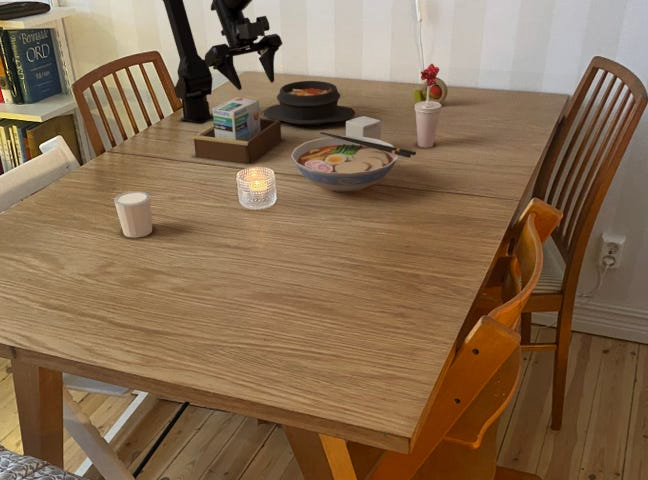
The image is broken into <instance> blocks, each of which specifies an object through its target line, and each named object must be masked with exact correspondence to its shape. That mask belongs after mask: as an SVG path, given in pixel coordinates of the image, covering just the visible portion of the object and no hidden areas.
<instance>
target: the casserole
mask: <svg viewBox="0 0 648 480" xmlns="http://www.w3.org/2000/svg"><path fill="white" fill-rule="evenodd" d="M341 96H342V95H341V93H340V92H339V91H338V88H337V86H336V84H333V83H331V82H327V81H320V80H302V81H294V82H291V83H287V84H284V85H283V86H281V87H280V89H279V93H278V94H277V96H276V100H277V101H278V102H279V104H273V105H271V106H269V107H267V108H266V109H265V110H264V111H263V113H262V115H263V117H264V118H265V119H272V120H280V122H284V123H289V124H292V125H296V126H301V127H314V126H319V125H323V124H326V123H339V122H346V121H349V120H351V119H353V117H354V116H356V110H355V109H354V108H353V107H349V106H344V105H338V102H339V100H340V98H341Z"/></svg>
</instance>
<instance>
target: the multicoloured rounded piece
mask: <svg viewBox="0 0 648 480" xmlns="http://www.w3.org/2000/svg"><path fill="white" fill-rule="evenodd" d="M439 72H440V68H439V67H438V66H435V65H434V63H430V64H429V66H428V67H427V68H425V69H423V71H420V74H421V76H420V79H421V80H422V81H424V83H422V86H421V88H420V89H416V90H414V91H413V92H412V96H413V97H414V101H413V102H414V105H415V104H416V103H418V102H422V101H427V87H428V86H430V93H429V101H433V102H438V103H440V104H441V105H442V103H443V102H444V101H445V100H446V98H447V96H448V92H449V91H448V86H447V84H446V82H445V81H444V80H443V79H441V78H440V77H437V75H438V74H439Z"/></svg>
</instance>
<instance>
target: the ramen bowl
mask: <svg viewBox="0 0 648 480" xmlns="http://www.w3.org/2000/svg"><path fill="white" fill-rule="evenodd" d="M319 134H320V135H323V136H324V135H325V137H320V138H317V139H313V140H310V141H309V140H308V141H305V142H303V143H302V144H300V145H298V146H296V147H294V149H293V151H292V153H291V155H290V156H291V158H292V160H293V163H294V164H295V166H296V167H297V169H298V170H299V171H300V173H301V174H302V176H303V177H304V178H305V179H306V180H307V181H309V182H310V183H312V184H314V185H316V186H318V187H320V188H322V189H326V190H330V191H333V192H336V193H354V192H356V191H359V190H363V189H366V188H368V187H373V186H374V185H376V184H378V183H379V182H380V181H381V180H383V179H384V178H385V177H386V176H387V175H388V174H389V173H390V171H392V169H393V168H394V166H395V164H396V162H397V160H398V157H399V156H400V157H404V158H408V159H410V158H411V157H412V156H416V154H417V153H416V152H417V151H414V150H410V149H405V148H399V147H395V146H394V144H391V143H389V142H386V141H384V140H381V139H380V140H379V139H373V138H367V137H361V136H346V135H337V134H334V133H333V134H332V133H329V132H323V131H322V132H319Z"/></svg>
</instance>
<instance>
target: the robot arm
mask: <svg viewBox="0 0 648 480" xmlns="http://www.w3.org/2000/svg"><path fill="white" fill-rule="evenodd" d="M162 1H163V5H164V8H165V11H166V15H167V19H168V22H169V26H170V29H171V34H172V36H173V40H174V43H175V48H176V50H177V53H178V56H179V63H178V68H177V71H176V72H177V76H178V80H177V81H176V84H175V86H174V89H173V91H174V95H175V97H176V98H177V99H179V100H181V108H182V115H183V117H180V121H182V122H187V123H188V122H190V123H198V124H201V123H203V122H205V121H206V120H209V118H212V117H213V113H212V114H211V112H210V103H209V101H208V97H207V96H210V95H212V89H213V80H214V79H213V76H212V71H211V69H210V68H212V69H213V70H214V71H217V72H219V73H220V74H221V75H222V76H224V77H225V78H226V79H227V80H228V81H229V82H230V83H231V84H232V85H233V87H235V88H236V89H237V90H238V91H241V90H242V89H243V87H242V83H241V80H240V77H239V75H238V72H237V70H236V68H235V67H236V66H235V64H234V57H236V56H241V55H247V54H251V53H257V54H258V55H259V57H258V60H259V62H260V65H261V66H262V69H263V70H264V73H265V74H266V77H267V79H268V80H269V82H270V83H271V84H272V83H274V82H275V55H276V53H277V51H279V50H280V47H281V46H283V44H284V43H283V41H282V38H281V36H280V35H279V34H277V33H273V34H267V35H266V32H268V31H270V28H271V27H270V22H269V20H268V17H267V15H262V16H257V17H256V18H255V21H253V22H251V20H250V18H249V17H245V14H244V12H243V11H244V10H245V9H246V8H247V7H248V6H249V5H250V4H251V3H252V2H253V0H212V2H211V4H210V11H211V12H213V11H215V12H216V14H217V17H218V20H219V23H220V26H221V28H222V29H221V31H220V34H221V36H222V37H224V36H225V39H226V41H227V43H221V44H215V45H212V46H211V47H210V48H209V50H208V51H207V52H206V53H205V55H204V59H203V58H202V57H201V56H200V55H199V54H198V50H197V46H196V43H195V39H194V35H193V32H192V28H191V25H190V21H189V18H188V13H187V10H186V7H185V3H184V0H162ZM259 37H262V38H260V39H259ZM258 39H259V41H257V40H258ZM255 41H256V42H255Z"/></svg>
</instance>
